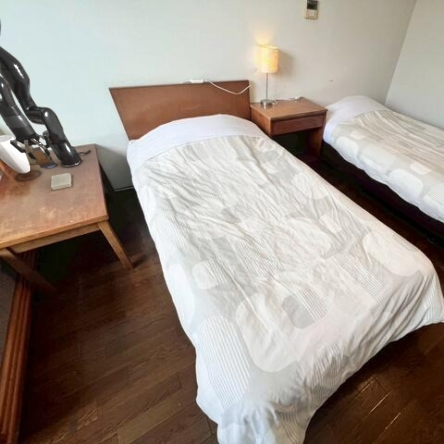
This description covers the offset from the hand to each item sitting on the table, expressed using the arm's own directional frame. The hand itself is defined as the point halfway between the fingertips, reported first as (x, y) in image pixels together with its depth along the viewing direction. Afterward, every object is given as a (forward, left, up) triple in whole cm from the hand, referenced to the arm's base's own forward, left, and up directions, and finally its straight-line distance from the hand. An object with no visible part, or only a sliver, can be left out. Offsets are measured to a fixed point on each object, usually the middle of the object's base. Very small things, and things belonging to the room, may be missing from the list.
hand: (41, 157), depth 124 cm
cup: (-2, -22, -17) cm, 28 cm away
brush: (0, 0, -3) cm, 3 cm away
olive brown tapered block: (-15, -32, -17) cm, 39 cm away
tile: (-2, 0, -17) cm, 17 cm away
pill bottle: (-14, -20, -17) cm, 30 cm away
